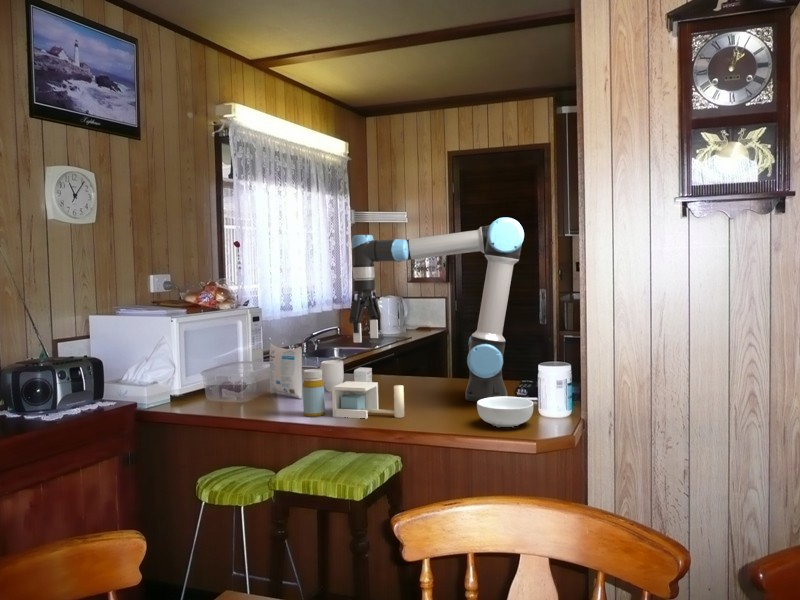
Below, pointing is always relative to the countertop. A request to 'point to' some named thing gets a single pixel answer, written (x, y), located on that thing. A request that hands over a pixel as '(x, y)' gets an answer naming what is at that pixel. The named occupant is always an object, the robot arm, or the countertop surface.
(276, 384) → the pouch
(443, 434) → the countertop surface
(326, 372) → the mug
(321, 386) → the bottle
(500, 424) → the cereal bowl
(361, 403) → the toy mallet
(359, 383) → the cubby shelf
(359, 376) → the ink box
